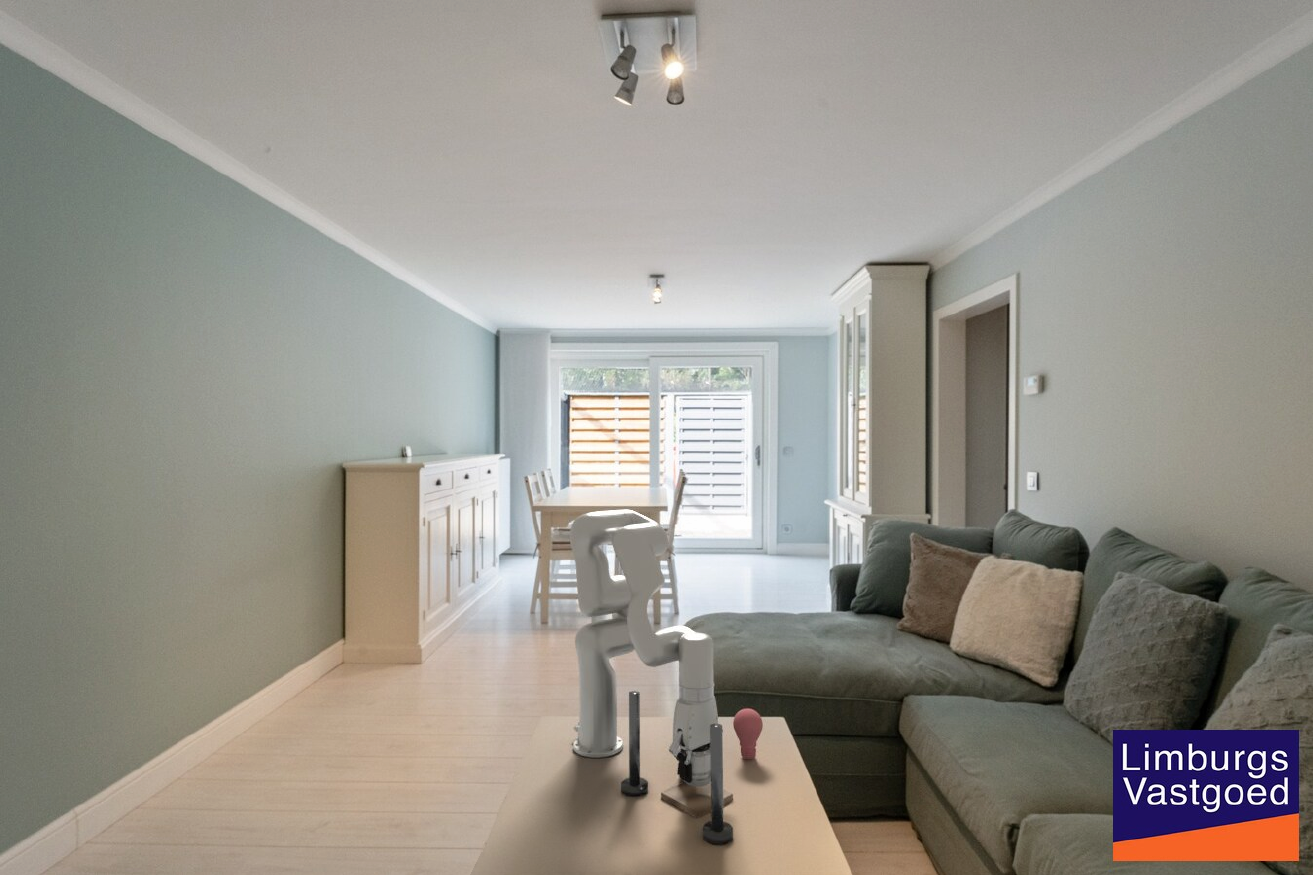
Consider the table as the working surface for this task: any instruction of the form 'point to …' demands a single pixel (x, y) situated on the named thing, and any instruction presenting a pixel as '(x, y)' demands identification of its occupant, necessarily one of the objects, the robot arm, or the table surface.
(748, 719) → the light bulb
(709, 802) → the mount plate
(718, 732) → the right post
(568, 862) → the table surface
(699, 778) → the camera lens
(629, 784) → the left post
